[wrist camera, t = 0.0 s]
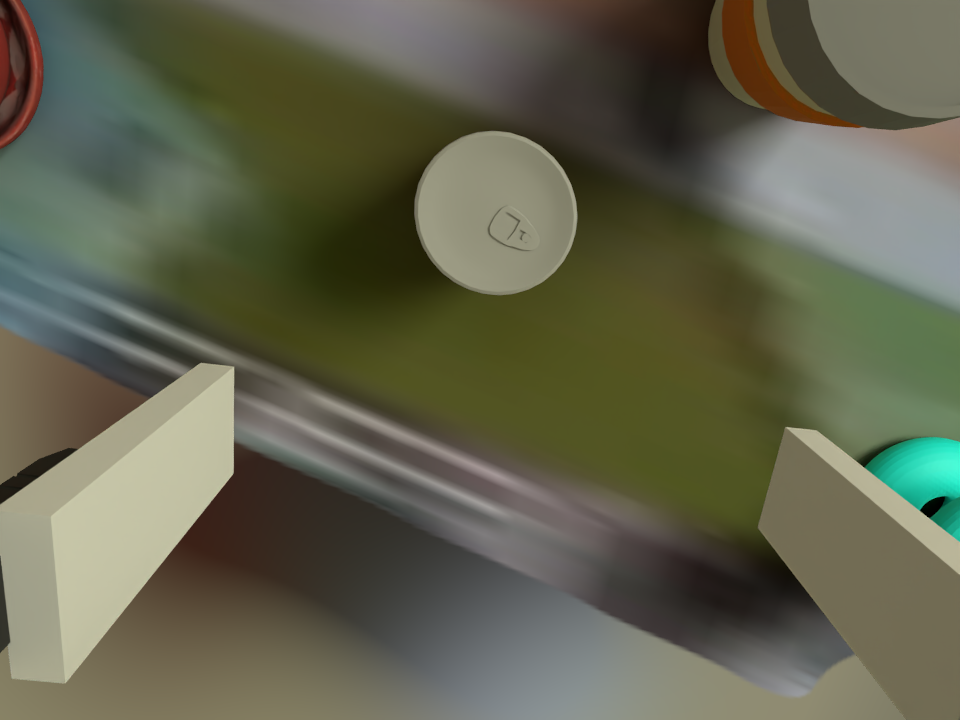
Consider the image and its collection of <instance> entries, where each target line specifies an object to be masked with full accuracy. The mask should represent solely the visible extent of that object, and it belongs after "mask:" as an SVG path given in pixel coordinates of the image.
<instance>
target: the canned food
mask: <svg viewBox="0 0 960 720" xmlns="http://www.w3.org/2000/svg"><path fill="white" fill-rule="evenodd" d="M414 216H415V222H416V229H417V233H418V235H419V238H420V241H421V244H422V246H423V248H424V250H425V251H426V253H427V255H428V256H429V258H430V260H431V261H432V262H433V263H434V264H435V266H436V267H437V268H438V269H439V270H440V271H441V272H442V273H443V274H444V275H446V276H447V277H448V278H450V279H451V280H452V281H453V282H455V283H457V284H459V285H461V286H463V287H465V288H467V289H469V290H473V291H476V292H479V293H483V294H493V295H505V294H514V293H518V292H521V291H525V290H528V289H530V288H532V287H534V286H536V285H538V284H540V283H542V282H543V281H544V280H545V279H547V278H548V277H549V276H550V275H552V274H553V273H554V272H555V271H556V270H557V268H558V267H559V266H560V265H561V264H562V262H563V261H564V260H565V258H566V256H567V254H568V252H569V250H570V248H571V246H572V243H573V240H574V236H575V233H576V225H577V207H576V199H575V196H574V192H573V189H572V186H571V183H570V181H569V179H568V178H567V176H566V174H565V172H564V170H563V168H562V167H561V166H560V165H559V163H558V162H557V161H556V160H555V158H554V157H553V156H552V155H551V154H549V153H548V152H547V151H546V150H545V149H544V148H542V147H541V146H540V145H538V144H536V143H535V142H533V141H531V140H529V139H527V138H526V137H522V136H519V135H516V134H513V133H510V132H501V131H484V132H476V133H473V134H469V135H466V136H463V137H460V138H459V139H457V140H455V141H453V142H452V143H450V144H448V145H446V146H445V147H444V148H443V149H442V150H441V151H440V152H439V153H437V154H436V155H435V156H434V158H433V159H432V160H431V162H430V163H429V164H428V166H427V167H426V168H425V170H424V172H423V175H422V177H421V179H420V181H419V183H418V187H417V192H416V196H415V208H414Z"/></svg>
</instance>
